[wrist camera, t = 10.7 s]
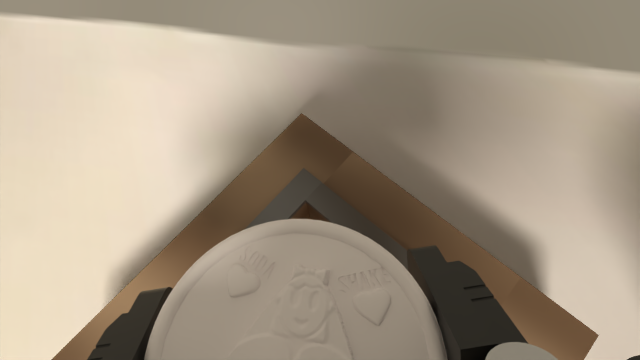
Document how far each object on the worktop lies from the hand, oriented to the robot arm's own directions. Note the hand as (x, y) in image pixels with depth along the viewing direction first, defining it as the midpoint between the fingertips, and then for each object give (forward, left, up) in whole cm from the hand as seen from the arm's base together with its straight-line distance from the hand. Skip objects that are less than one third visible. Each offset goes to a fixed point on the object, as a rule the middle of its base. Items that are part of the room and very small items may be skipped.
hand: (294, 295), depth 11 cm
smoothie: (+1, +1, -8) cm, 8 cm away
